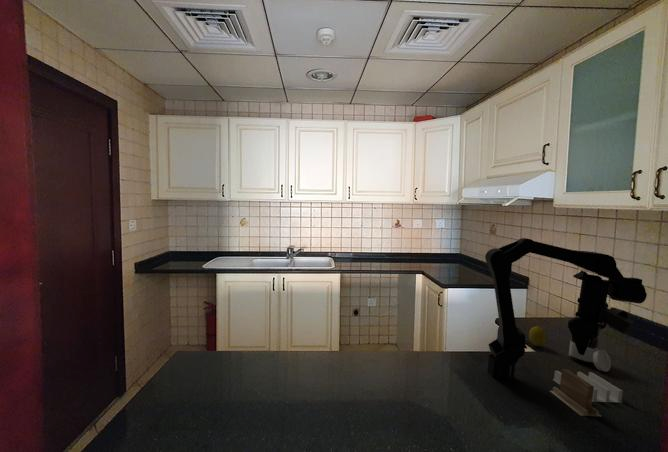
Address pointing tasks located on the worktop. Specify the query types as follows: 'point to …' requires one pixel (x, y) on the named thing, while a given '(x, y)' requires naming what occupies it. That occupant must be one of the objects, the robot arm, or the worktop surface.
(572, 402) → the stand
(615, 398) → the rack
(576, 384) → the board
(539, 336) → the lemon
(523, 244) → the robot arm
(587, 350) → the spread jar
